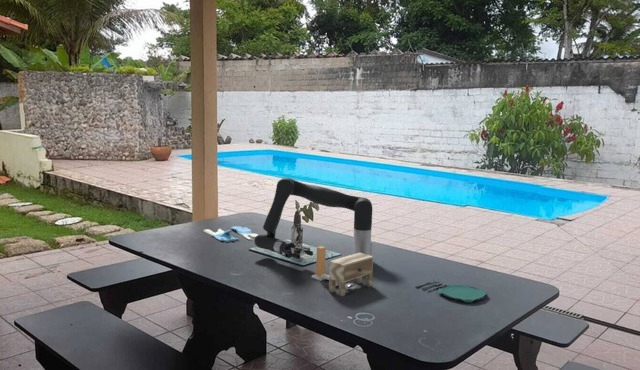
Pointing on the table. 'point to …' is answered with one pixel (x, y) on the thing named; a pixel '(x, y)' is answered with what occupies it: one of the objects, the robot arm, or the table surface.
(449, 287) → the cutlery set
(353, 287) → the steel disc
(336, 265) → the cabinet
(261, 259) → the table surface
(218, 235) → the rubber gloves
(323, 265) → the orange post on base
